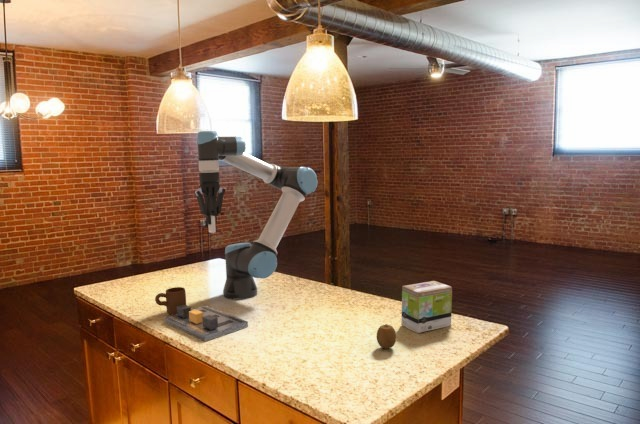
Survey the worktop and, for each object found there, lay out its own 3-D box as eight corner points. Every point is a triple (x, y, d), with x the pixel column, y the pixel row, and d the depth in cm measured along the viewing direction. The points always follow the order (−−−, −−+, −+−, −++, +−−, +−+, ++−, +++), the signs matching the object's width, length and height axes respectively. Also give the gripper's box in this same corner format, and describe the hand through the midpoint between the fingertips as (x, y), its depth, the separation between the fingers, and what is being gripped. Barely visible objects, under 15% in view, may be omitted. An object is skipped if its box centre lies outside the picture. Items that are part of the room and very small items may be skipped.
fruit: (383, 354, 145) (382, 329, 144) (373, 346, 151) (372, 322, 150) (400, 350, 148) (400, 325, 147) (389, 343, 154) (389, 319, 153)
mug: (159, 319, 181) (158, 295, 180) (153, 314, 187) (151, 291, 186) (189, 312, 188) (188, 289, 187) (182, 308, 194) (181, 285, 193)
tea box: (418, 334, 160) (419, 292, 159) (400, 325, 169) (400, 285, 167) (452, 326, 167) (452, 285, 165) (433, 317, 176) (433, 279, 174)
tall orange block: (196, 318, 174) (196, 309, 174) (203, 321, 171) (203, 312, 171) (189, 320, 172) (188, 311, 172) (196, 323, 169) (196, 314, 168)
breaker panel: (205, 310, 191) (205, 296, 190) (248, 326, 171) (247, 311, 170) (164, 322, 178) (163, 307, 177) (204, 341, 158) (203, 325, 158)
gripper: (217, 171, 188) (220, 229, 191) (188, 172, 179) (192, 233, 182) (228, 171, 183) (231, 231, 186) (199, 172, 174) (202, 235, 177)
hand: (212, 232), depth 184 cm, fingers closed
